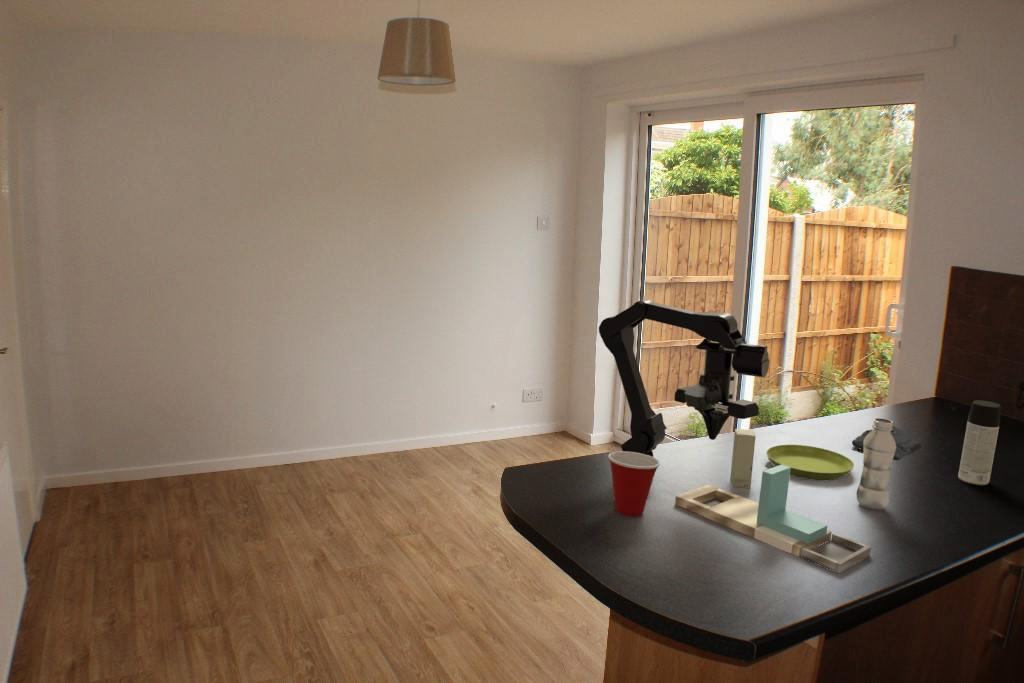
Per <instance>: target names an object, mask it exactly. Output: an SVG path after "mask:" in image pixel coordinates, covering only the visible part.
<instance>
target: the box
mask: <svg viewBox="0 0 1024 683" xmlns="http://www.w3.org/2000/svg"><path fill="white" fill-rule="evenodd" d="M755 445H756V433H755V431H754V430H752V429H743V428H742V429H741V428H734V433H733V445H732V456H731V470H730V477H729V480H730V485H731V487H733V488H740V489H741V488H743V489H750V488H752V474H753V466H754V455H755Z"/></svg>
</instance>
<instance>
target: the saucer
mask: <svg viewBox="0 0 1024 683" xmlns="http://www.w3.org/2000/svg"><path fill="white" fill-rule="evenodd" d="M765 453H766V456H767V458H768V460H769V461H770V462H771V464H772V465H773V466H774V467H776V466H779V465H785V466H788V467H791V470H790V476H792V477H795V478H800V479H805V480H812V481H834V480H839V479H840V478H843V477H845V476H847V475H848V474H849V473H850V472H851V471H853V469H854V467H855V464H854V462H853V461H852V460H851V458H849V457H847V456H845V455H843V454H841V453H838V452H836V451H833V450H829V449H825V448H822V447H817V446H810V445H803V444H780V445H779V444H777V445H774V446H771V447H770V448H768V449H767V450H766V452H765Z"/></svg>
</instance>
